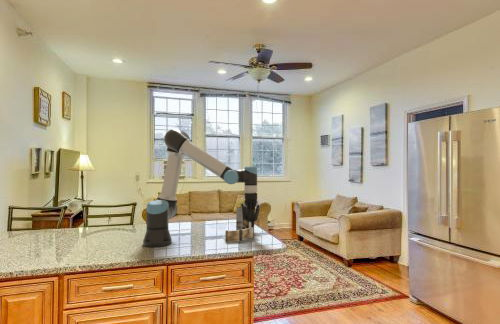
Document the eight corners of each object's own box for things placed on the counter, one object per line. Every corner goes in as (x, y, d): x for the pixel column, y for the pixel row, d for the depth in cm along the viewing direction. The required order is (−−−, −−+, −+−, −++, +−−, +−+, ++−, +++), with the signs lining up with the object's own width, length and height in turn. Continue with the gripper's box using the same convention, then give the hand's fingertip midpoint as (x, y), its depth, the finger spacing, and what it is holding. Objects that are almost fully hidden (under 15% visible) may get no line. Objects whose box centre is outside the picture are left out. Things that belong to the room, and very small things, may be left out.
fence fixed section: (225, 241, 178) (225, 230, 178) (225, 241, 180) (225, 230, 180) (242, 240, 180) (242, 229, 181) (241, 240, 182) (241, 229, 182)
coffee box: (243, 233, 200) (243, 208, 201) (235, 232, 204) (235, 207, 204) (252, 231, 208) (252, 206, 208) (244, 230, 212) (244, 205, 212)
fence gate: (242, 239, 181) (242, 229, 181) (241, 239, 182) (241, 229, 182) (254, 236, 189) (254, 227, 189) (252, 236, 190) (252, 226, 190)
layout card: (225, 243, 176) (225, 242, 176) (221, 236, 192) (221, 235, 192) (260, 241, 180) (260, 240, 180) (253, 235, 196) (253, 234, 196)
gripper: (263, 192, 186) (263, 232, 185) (245, 191, 193) (245, 230, 192) (256, 193, 179) (257, 235, 179) (238, 192, 186) (238, 232, 186)
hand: (251, 232), depth 186 cm, fingers closed
